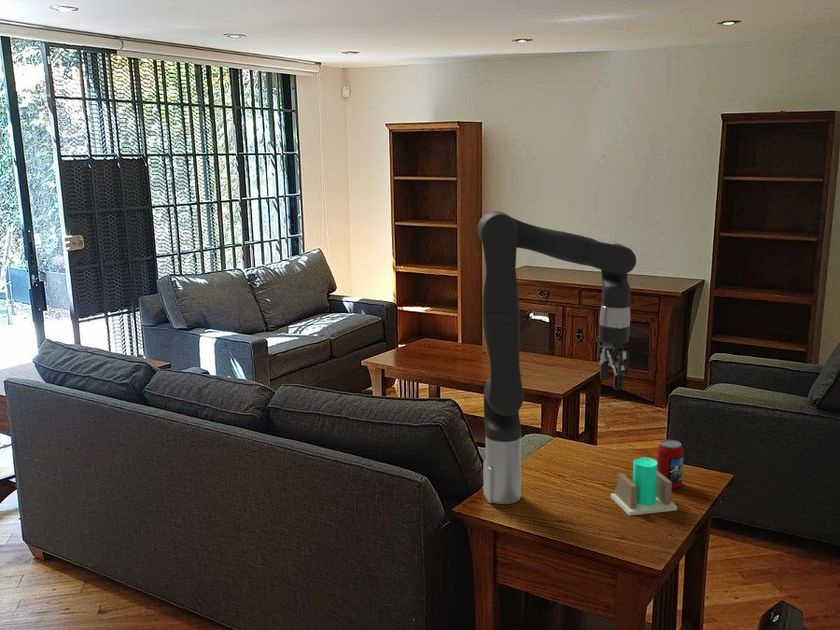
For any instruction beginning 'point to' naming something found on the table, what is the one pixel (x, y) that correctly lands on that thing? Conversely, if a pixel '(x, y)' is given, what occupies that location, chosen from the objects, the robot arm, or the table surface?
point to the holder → (628, 494)
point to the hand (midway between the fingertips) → (611, 384)
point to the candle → (645, 480)
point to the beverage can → (671, 461)
